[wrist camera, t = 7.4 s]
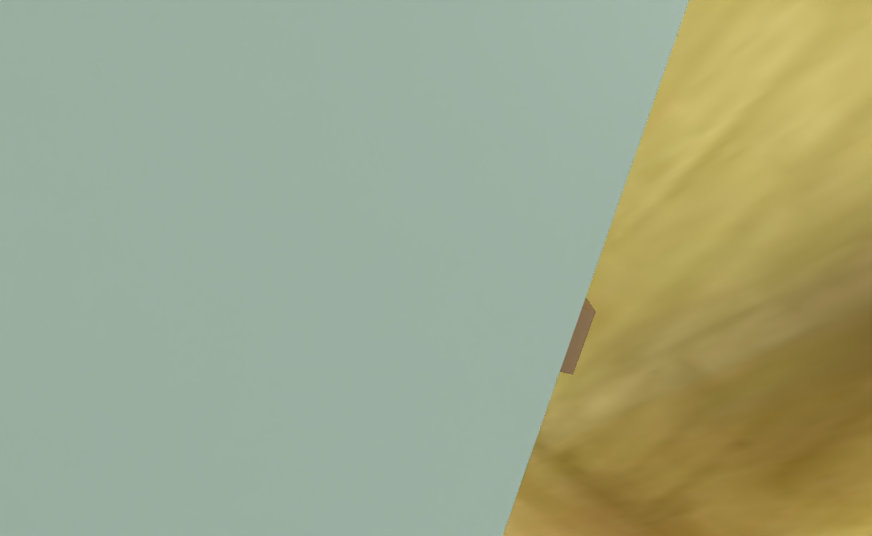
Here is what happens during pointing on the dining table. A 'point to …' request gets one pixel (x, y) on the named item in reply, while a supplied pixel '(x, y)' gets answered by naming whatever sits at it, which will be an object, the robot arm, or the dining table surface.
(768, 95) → the dining table surface
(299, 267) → the cross plate
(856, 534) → the dining table surface
